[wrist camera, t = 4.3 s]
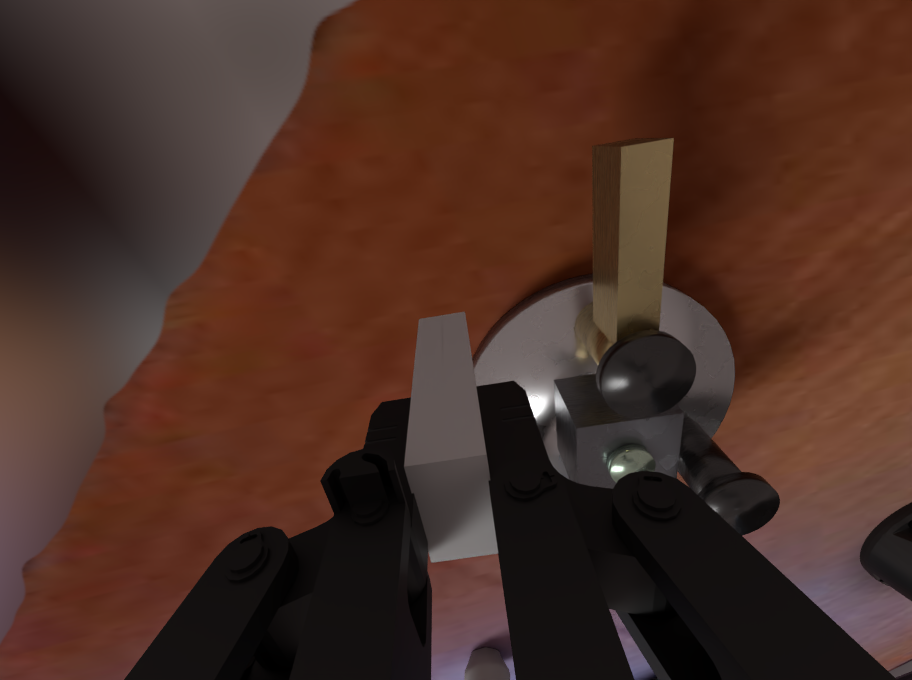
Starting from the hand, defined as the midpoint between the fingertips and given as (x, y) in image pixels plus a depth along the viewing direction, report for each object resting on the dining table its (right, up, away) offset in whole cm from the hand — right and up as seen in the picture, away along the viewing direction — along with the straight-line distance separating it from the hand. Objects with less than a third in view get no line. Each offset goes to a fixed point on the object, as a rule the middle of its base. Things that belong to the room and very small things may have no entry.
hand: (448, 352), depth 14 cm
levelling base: (+12, -4, +22) cm, 25 cm away
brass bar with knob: (+10, +6, +14) cm, 18 cm away
